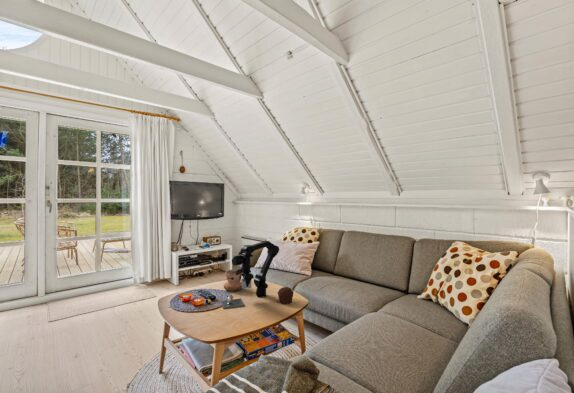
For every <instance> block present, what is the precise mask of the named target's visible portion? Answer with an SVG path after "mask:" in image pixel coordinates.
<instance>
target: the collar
mask: <svg viewBox="0 0 574 393" xmlns="http://www.w3.org/2000/svg"><path fill="white" fill-rule="evenodd" d="M240 282H241V287H242V288H241V289H243V290H244V289H250V288H252V280H251V281H250V284H249V286H248V287H246V281H245V279H243V278H241V281H240Z"/></svg>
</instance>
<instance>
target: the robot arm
mask: <svg viewBox="0 0 574 393" xmlns="http://www.w3.org/2000/svg"><path fill="white" fill-rule="evenodd" d="M263 248H266V249H267V256H266V258H265V261H264V262H263V265H262V267H261V270H260V271H259V273H258V274H257V273H256V274H255V276H254V274H253V273H252V270H251V267H252V264H251V258H252V257H254V255H253V253H254V252H255V251H258V250H261V249H263ZM279 252H280V247H279V246H278V245H276V244H274V243H272V242H271V241H270V240H262V241H261V242H258V243H254V244H244V245H242V246H241V248H240V251H239V252H238V254H237V255H233V258H232V259H231V263H232V265H233V267H235V266H238V267H237V268H234V269H235V270H234V269H233V270H234V272H235V274H236V275H238V274H241V275H242V279H245V281H246V287H248V286H249V284H250V281H251V282H252V279H253V283H254V285H255V288H256V289H255V291H256V293H255V296H257V298H264V297H268V295H267V289H268V288H269V285H268V283H267V282H266V281H267V274H268V271H269V269H270V267H271V264H272V262H273V261H274V260H273V259H274V258H275V257H277V255H278V254H279Z"/></svg>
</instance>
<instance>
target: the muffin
mask: <svg viewBox="0 0 574 393" xmlns="http://www.w3.org/2000/svg"><path fill="white" fill-rule="evenodd" d="M277 294H278V295H277V297H278V302H279V303H281V305H290V303H291V304H292V303H293V297H294V291H293V289H292V288H290V287H288V286H283V287H281V288H280V289H278V291H277Z"/></svg>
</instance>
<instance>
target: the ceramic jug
mask: <svg viewBox="0 0 574 393" xmlns="http://www.w3.org/2000/svg"><path fill="white" fill-rule="evenodd" d="M235 269H236V268H234V269H228V270H225V272H224V274H225V277H224V280H226V282H224V284H223V289H225V290H226V291H228V292H235V291H238V290H241V289H243V288H242V287H241V279H242V278H243V276H242V275H241V274H238V275H236V274H235V272H234V270H235Z"/></svg>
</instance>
